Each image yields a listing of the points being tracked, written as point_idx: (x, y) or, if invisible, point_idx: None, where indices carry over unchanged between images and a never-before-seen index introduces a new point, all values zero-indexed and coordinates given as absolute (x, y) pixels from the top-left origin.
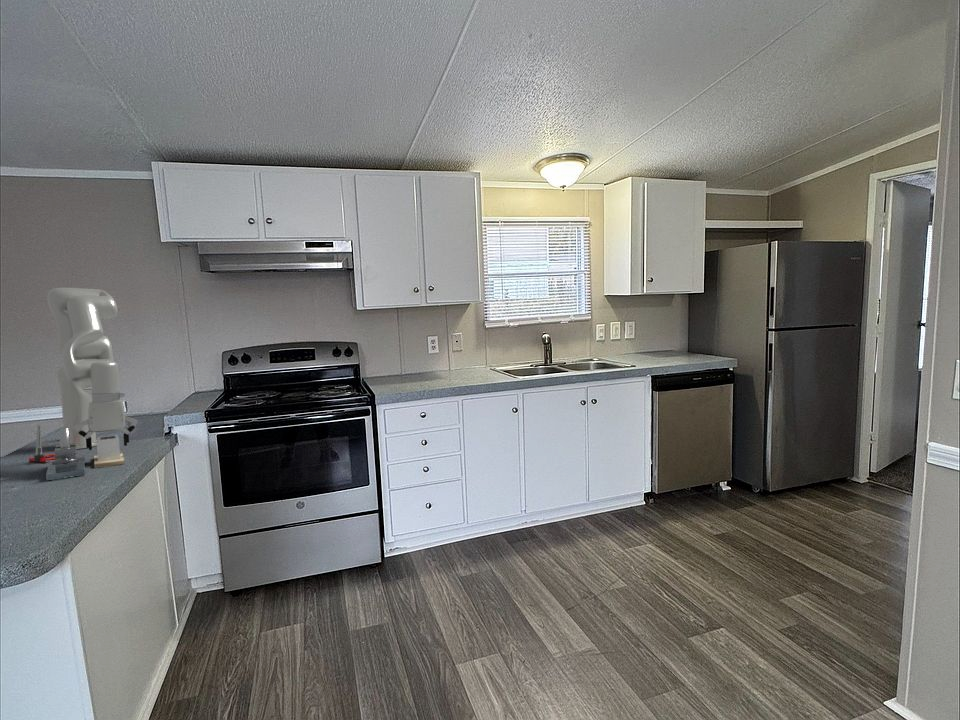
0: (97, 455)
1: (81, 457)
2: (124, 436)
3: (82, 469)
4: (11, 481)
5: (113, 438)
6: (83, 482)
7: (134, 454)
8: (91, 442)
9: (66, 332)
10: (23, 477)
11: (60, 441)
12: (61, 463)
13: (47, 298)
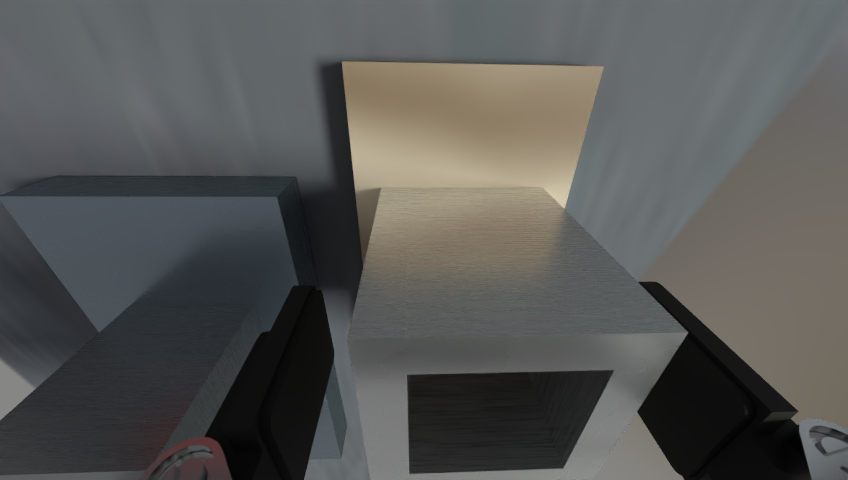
0: (375, 100)
1: (256, 213)
2: (671, 456)
3: (333, 456)
4: (33, 376)
5: (540, 476)
6: (354, 476)
7: (665, 111)
8: (304, 363)
9: None
10: (46, 340)
11: None
12: None
13: None
